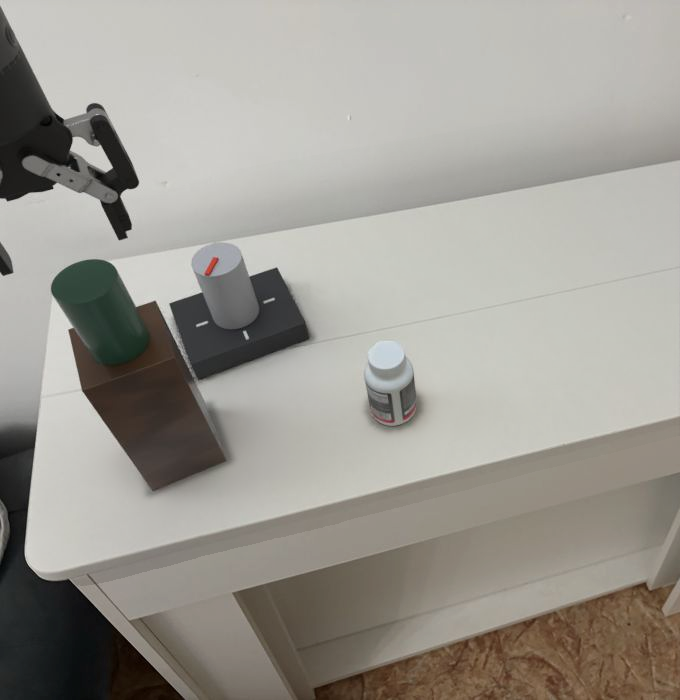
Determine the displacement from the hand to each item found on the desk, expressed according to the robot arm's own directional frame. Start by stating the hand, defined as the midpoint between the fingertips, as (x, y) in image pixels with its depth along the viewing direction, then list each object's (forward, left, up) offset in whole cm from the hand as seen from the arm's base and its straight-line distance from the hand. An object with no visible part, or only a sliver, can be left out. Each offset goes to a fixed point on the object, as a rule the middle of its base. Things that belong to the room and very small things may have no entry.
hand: (65, 250), depth 56 cm
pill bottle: (+23, -6, -30) cm, 38 cm away
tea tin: (0, 0, -11) cm, 11 cm away
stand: (0, 0, -29) cm, 29 cm away
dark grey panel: (+11, +14, -29) cm, 34 cm away
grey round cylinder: (+11, +14, -26) cm, 32 cm away
